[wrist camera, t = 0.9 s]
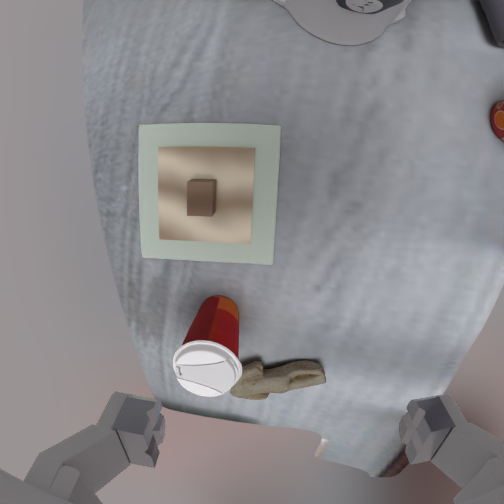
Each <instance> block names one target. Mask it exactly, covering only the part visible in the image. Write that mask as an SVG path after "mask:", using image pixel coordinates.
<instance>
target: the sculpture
mask: <svg viewBox="0 0 504 504" xmlns="http://www.w3.org/2000/svg"><path fill="white" fill-rule="evenodd" d="M325 382H326V377H325V372H324V370H323V367H322V366H321V365H319V364H318V363H316V362H313V361H308V360H303V361H294V362H291V363H288V364H286V365H283V366H280V367H277V368H272V369H263V363H262V362H260V361H254V362H252V363H249V364H246V365H245V366H243V367H242V375H241V377H240V378H239V380H238V381H237V382H236V383H235V385H234V386H232V387H231V392H230V393H231V394H232V395H233V396H235V397H238V398H245V399H251V400H262V399H266V398H267V397H268V395H269V393H284V392H287V391H289V390H293V389H297V388H303V387H309V386H314V385H319V384H323V383H325Z"/></svg>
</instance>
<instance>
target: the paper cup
mask: <svg viewBox="0 0 504 504" xmlns="http://www.w3.org/2000/svg"><path fill="white" fill-rule="evenodd" d="M238 348H239V312H238V308H237V306H236V304H235V303H234V302H233V301H232V300H231V299H229V298H227V297H224V296H212V297H210V298H208V299H206V300H205V301H204V302H203V304H202V306H201V307H200V309H199V311H198V313H197V315H196V317H195V319H194V321H193V323H192V325H191V327H190V328H189V331H188V333H187V335H186V337H185V340H184V342H183V344H182V346H181V347H180V348H179V349H178V350H177V351H176V353H175V354H174V357H173V368H174V371H175V373H176V378H177V380H178V381H179V383H180V384H181V385H182V386H183V387H184V388H185V389H187V390H188V391H190V392H192V393H194V394H197V395H201V396H208V397H210V396H218V395H222V394H224V393H225V392H227V391H228V390H229V389H230V388H231V387H232V386H234V385H235V383H236V382H237V381H238V380H239V378H240V377H241V375H242V365H241V363H240V362H239V360H238Z"/></svg>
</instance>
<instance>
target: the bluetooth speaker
mask: <svg viewBox="0 0 504 504" xmlns="http://www.w3.org/2000/svg"><path fill="white" fill-rule="evenodd" d="M479 2H480V5H481V7H482V9H483V11H484V13H485V14H486V17H487V19H488V22H489V25H490V28H491V31H492V33H493V36H494V38H495V41H496V43H497V45H498V46H499V47H503V48H504V0H479Z"/></svg>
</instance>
